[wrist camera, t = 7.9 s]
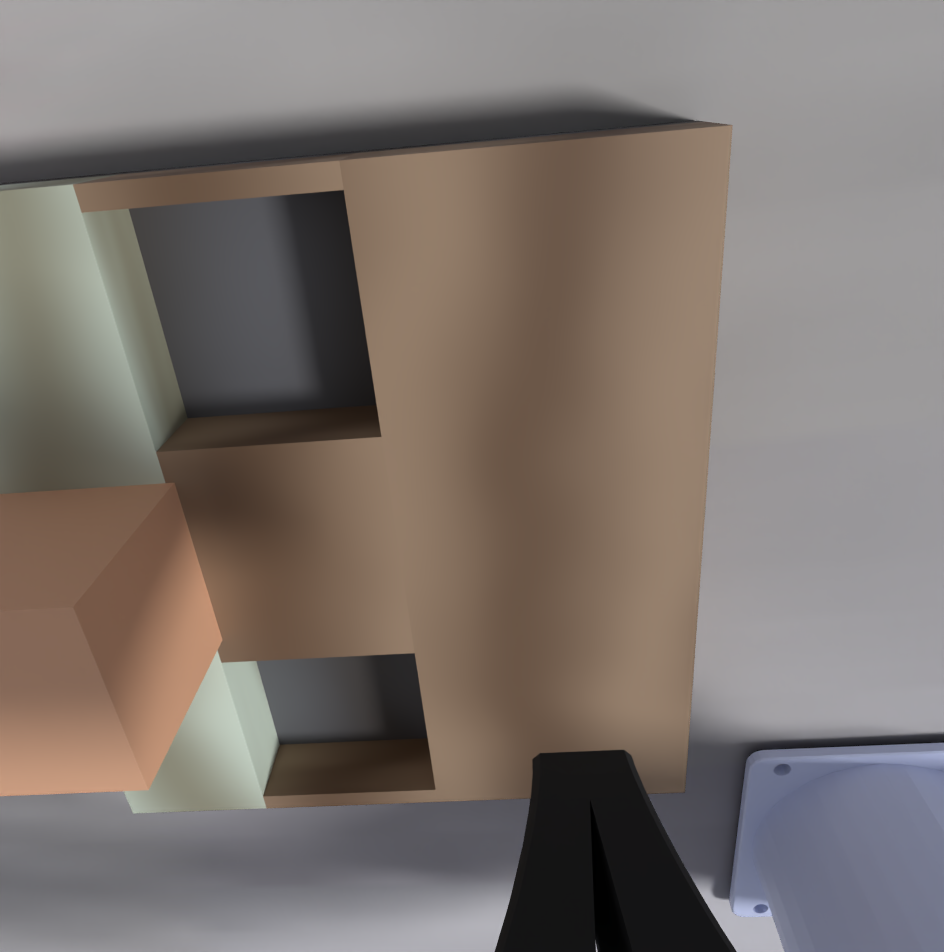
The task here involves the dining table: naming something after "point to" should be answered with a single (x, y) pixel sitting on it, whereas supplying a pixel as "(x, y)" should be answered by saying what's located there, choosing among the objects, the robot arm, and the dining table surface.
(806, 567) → the dining table surface
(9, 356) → the board
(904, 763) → the robot arm
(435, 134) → the dining table surface
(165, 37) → the dining table surface
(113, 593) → the terracotta cube
